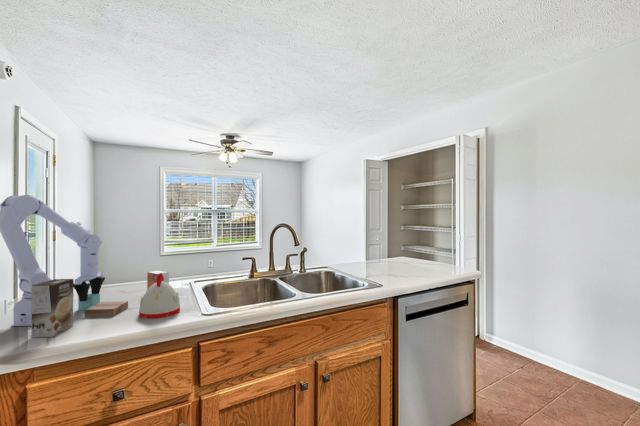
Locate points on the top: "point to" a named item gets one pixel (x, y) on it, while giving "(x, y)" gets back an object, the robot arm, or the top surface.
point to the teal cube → (89, 301)
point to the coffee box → (52, 307)
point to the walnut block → (106, 309)
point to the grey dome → (159, 300)
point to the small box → (153, 277)
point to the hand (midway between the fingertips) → (89, 298)
